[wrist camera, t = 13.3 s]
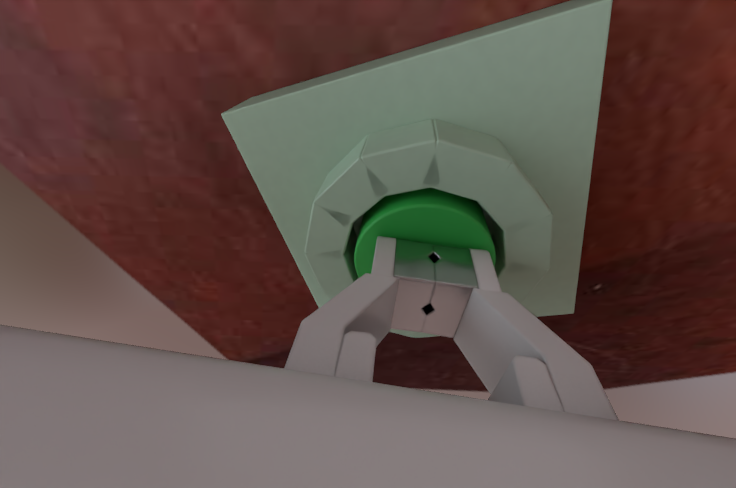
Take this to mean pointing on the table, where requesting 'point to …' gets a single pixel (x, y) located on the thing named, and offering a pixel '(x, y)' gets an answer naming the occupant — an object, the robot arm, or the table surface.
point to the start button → (423, 223)
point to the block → (443, 147)
